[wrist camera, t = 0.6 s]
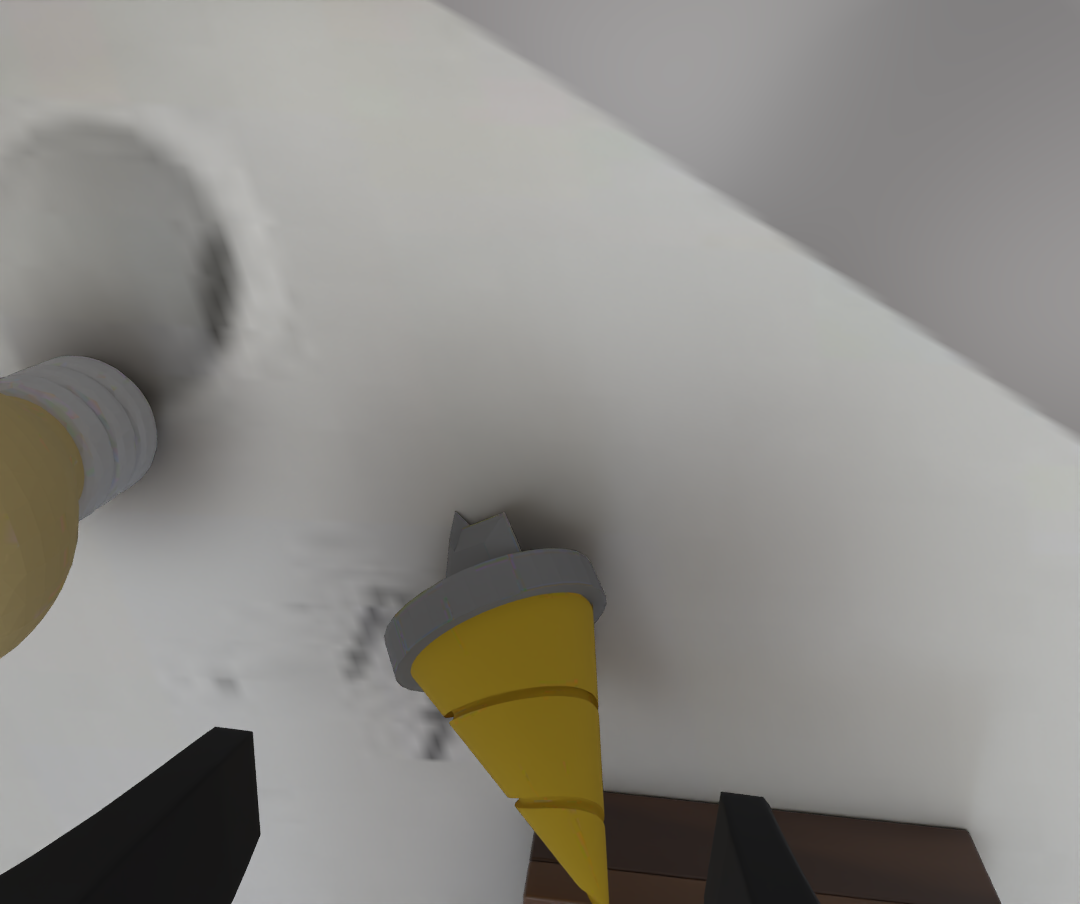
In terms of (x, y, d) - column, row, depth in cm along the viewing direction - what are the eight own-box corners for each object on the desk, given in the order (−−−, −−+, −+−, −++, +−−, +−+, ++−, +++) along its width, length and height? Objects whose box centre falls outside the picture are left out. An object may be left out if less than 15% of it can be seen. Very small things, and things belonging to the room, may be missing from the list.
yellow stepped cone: (581, 440, 22) (773, 839, 17) (511, 549, 26) (652, 900, 21) (380, 459, 19) (540, 937, 14) (335, 577, 23) (449, 986, 18)
